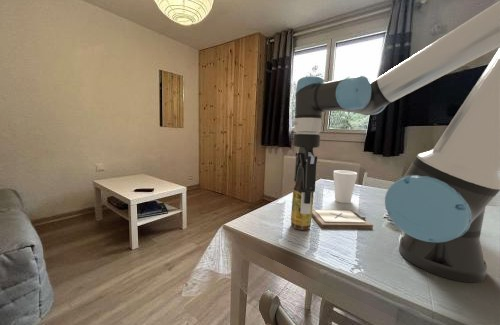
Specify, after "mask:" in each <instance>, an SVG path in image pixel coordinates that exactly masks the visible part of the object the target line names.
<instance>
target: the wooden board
mask: <svg viewBox="0 0 500 325" xmlns="http://www.w3.org/2000/svg"><path fill="white" fill-rule="evenodd" d="M312 218H313V219H314V221H315V222H317V224H318V225H319V226H320V228H321V229H351V230H352V229H355V230H356V229H358V230H359V229H361V230H362V229H363V230H364V229H367V230H369V229H370V230H373V228H374V225H373V224H372V223H371V222H369V221H368V220H366V218H367V217H366V216H365V215H364V214H362V213H361V212H359V211H358V210H357V211H354V210H352V209H314V208H313V209H312Z"/></svg>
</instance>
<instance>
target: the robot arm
mask: <svg viewBox="0 0 500 325" xmlns="http://www.w3.org/2000/svg"><path fill="white" fill-rule="evenodd" d="M496 49H497V51H496V53H495V54H494V56H493V57H492V58H491V60H490V62H489V63H488V65H487V67H486V68H485V69H484V70H483V72H482V74H481V76H480V77H479V78H478V80H477V81H476V83H475V85H473V87H472V89H471V91H470V92H469V94H468V95H467V96H466V98H465V99H464V101H463V103H462V104H461V105H460V107H459V108H458V110H457V112H456V113H455V115H454V116H453V118H452V119H451V121H450V123H449V124H448V126H447V127H446V129H444V132H443V133H442V135H441V136H440V138H439V139H438V141H437V142H436V143H435V146H434V147H433V148H432V149H430V150H427V151H424V152H420V153H417V155H416V157H414V160H413V161H412V163H411V164H410V166H409V167H408V169H407V170H406V171H405V174H404V175H403V177H400V178H398V179H397V180H396V181H394V183H392V184H391V185H390V187H388V189H387V191H386V192H385V193H386V194H385V197H384V207H385V210H386V212H387V214H388V216H389V219H390V220H391V222H392V223H393V224H394V225H395V226H396V227H397V228H398V229H400V231H401V232H403V233H404V235H403V236H402V237H401V238H400V240H399V245H398V251H399V254H400V255H401V256H402V257H403V258H404V259H405V260H407V261H408V262H410V264H412V265H415V266H416V267H417V268H419V269H421V270H423V271H427V272H428V273H430V274H433V275H435V276H438V277H442V278H446V279H449V280H453V281H457V282H464V283H478V282H479V283H480V282H483V281H485V279H486V276H487V270H488V265H487V263H486V260H485V258H484V253H483V249H482V243H481V232H482V228H483V222H484V216H485V212H486V211H485V210H486V207H487V206H488V205H489V203H491V201H492V200H493V199H494V198H495V196H496V195H498V193H499V192H500V178H499V175H498V173H499V171H500V0H499V1H497V2H495V3H493V4H492V5H490V6H489V7H487V8H486V9H484V10H483V11H481V12H479V13H478V14H476V15H474V16H473V17H472V18H469V19H468V20H466V21H465V22H464V23H462V24H460V25H459V26H457V27H456V28H454V29H453V30H451V31H450V32H448V33H446V34H444V35H443V36H442V37H440V38H438V39H436V40H435V41H433V42H432V43H430V44H429V45H427V46H425V47H424V48H422V49H421V50H419V51H418V52H416V53H415V54H413V55H411V56H410V57H409V58H407V59H405V60H404V61H402V62H400V63H399V64H398V65H396V66H394V67H393V68H391V69H389V70H388V71H387V72H385V73H384V74H382V75H380V76H379V77H376V79H374V80H372V81H369V78H368V77H366V76H365V75H355V76H347V77H344V78H340V79H335V80H331V81H327V82H325V79H324V78H323V77H322V76H318V75H311V76H303V77H300V78H299V79H298V80H297V83H296V90H295V93H294V94H295V95H294V96H295V103H294V104H295V106H294V108H295V110H294V111H295V112H294V121H293V122H292V125H293V126H294V128H293V132H294V133H295V134H294V135H293V139H292V140H293V142H292V143H293V144H292V146H293V147H296V148H298V151H296V152H295V166H294V178H293V180H294V183H295V184H296V182H297V179H298V176H299V164H301V168H302V171H303V190H300V191H301V192H302V194H301V210H300V213H301V214H310V210H311V196H312V192H314V193H315V192H316V177H317V162H318V156H316V155H315V154H314V149H315V148H319V147H320V142H321V136H320V134H319V133H321V131H322V116H323V113H324V112H325V113H326V112H345V113H353V114H359V115H364V116H374V115H378V114H379V113H382V112H383V111H384V110H385V109H386V107H387V106H388V105H389V104H390V103H393V102H395V101H397V100H399V99H402V97H404V96H406V95H408V94H411V93H412V92H414V91H416V90H418V89H420V88H422V87H424V86H426V85H428V84H430V83H432V82H433V81H436V80H437V79H440V78H441V77H443V76H445V75H447V74H449V73H451V72H453V71H455V70H457V69H459V68H461V67H462V66H465V65H467V64H468V63H470V62H472V61H474V60H476V59H478V58H480V57H482V56H484V55H486V54H488V53H490V52H492V51H494V50H496ZM304 165H306V166H304ZM309 187H310V188H309Z"/></svg>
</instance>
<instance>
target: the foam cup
mask: <svg viewBox="0 0 500 325" xmlns="http://www.w3.org/2000/svg"><path fill="white" fill-rule="evenodd" d="M332 176H333V186H334V189H333V190H334V200H335V202H337V203H341V204H349V203H351V202H352V197H353V195H354V190H355V186H356V185H355V184H356V182H357V179H358V172H356V171H351V170H343V169H342V170H341V169H340V170H339V169H337V170H333V174H332Z"/></svg>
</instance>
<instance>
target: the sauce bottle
mask: <svg viewBox="0 0 500 325" xmlns="http://www.w3.org/2000/svg"><path fill="white" fill-rule="evenodd" d="M304 166H306V165H304ZM309 188H310V187H309ZM300 190H303V171H302V168H301V164H299V176H298V179H297V182H296V184H295V185H294V187H293V190H292V200H291V212H290V213H291V214H290V224H291V227H292V228H293V229H296V230H298V231H307V230H309V229H310V228H311V224H312V218H313V216H312V209H314V206H313V205H314V199H315V198H314V197H315V196H314V195H315V192H312V196H311V210H310V214H301V213H300V210H301V194H302V192H301V191H300Z"/></svg>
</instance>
